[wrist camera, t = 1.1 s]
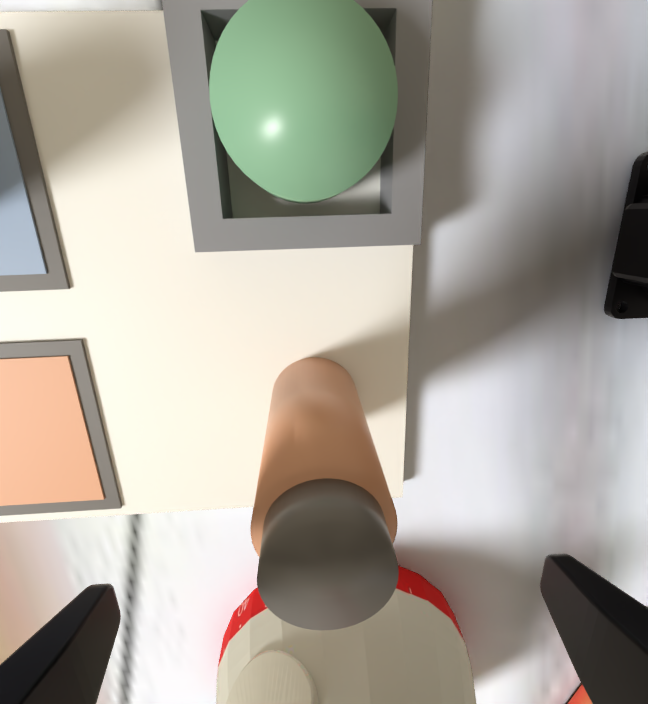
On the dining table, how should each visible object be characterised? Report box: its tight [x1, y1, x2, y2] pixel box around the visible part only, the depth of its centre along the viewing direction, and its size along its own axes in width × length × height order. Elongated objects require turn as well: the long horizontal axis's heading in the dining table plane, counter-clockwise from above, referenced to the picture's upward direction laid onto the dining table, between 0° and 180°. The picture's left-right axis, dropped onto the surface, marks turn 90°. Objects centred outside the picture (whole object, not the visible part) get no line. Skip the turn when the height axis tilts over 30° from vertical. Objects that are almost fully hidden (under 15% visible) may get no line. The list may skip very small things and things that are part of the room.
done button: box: [209, 0, 398, 204], centre depth 11 cm, size 5×5×3 cm
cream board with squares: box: [0, 0, 432, 523], centre depth 15 cm, size 22×19×3 cm
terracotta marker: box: [251, 357, 399, 631], centre depth 13 cm, size 4×4×9 cm
